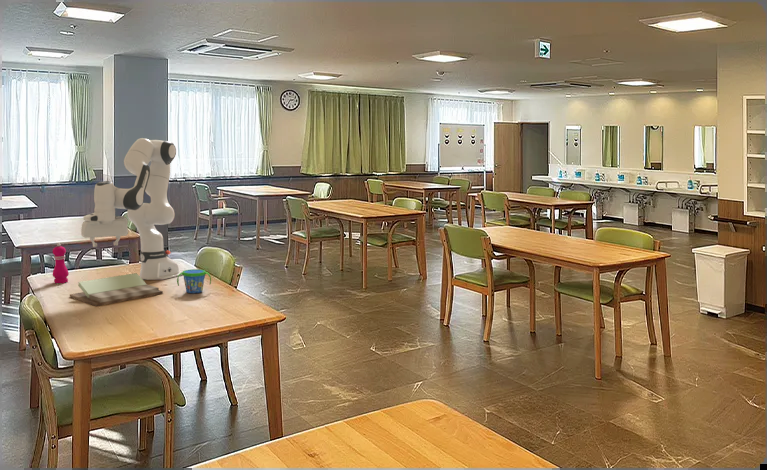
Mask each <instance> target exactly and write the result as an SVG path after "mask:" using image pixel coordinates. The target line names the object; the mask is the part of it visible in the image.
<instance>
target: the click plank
mask: <svg viewBox="0 0 767 470" xmlns="http://www.w3.org/2000/svg"><path fill="white" fill-rule="evenodd" d="M142 285H148V284H147V282H145V280H144V279H141V277H140V274H138V273H137V272H135V273H134V272H133V273H130V274H129V273H128V274H127V273H126V274H123V275H116V276H109V277H103V278H95V279H89V280H83V281H79V282H78V287H79V289H80V290H81V292H84V293H85V295H86V296H87V297H88V298H89V294H95V293H101V292H107V291H113V290H118V289H124V288H130V287H136V286H142Z"/></svg>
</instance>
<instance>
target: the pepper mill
mask: <svg viewBox="0 0 767 470" xmlns="http://www.w3.org/2000/svg"><path fill="white" fill-rule="evenodd" d="M66 253H67V250H66V247H65V246H62V244H61V243H59V242H58V243H56V246H55V247H53V248H52V254H53V255H54V256H53V258H54V262H55V263H54V268H53V270H52V277H53V278H54V279H53V283H54V282H55V283H54V284H56V283H62V284H66V283H65V282H67V283H69V278H68V276H69V270H68V268H67V266H66V263H65V259H66V255H65V254H66Z"/></svg>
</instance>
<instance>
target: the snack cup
mask: <svg viewBox="0 0 767 470" xmlns="http://www.w3.org/2000/svg"><path fill="white" fill-rule="evenodd" d="M181 272H182V273H180V274H179V275H178V276H177V279H176V282H177V283H176V284H177V286H180V283H179V280H180V279H179V277H180V275H181V274H182V275H181V276H183V281H184V282H183V283H184V287H185V291H186V293H187V294H199V293H202V292H203V291H204V284H205V283H204V282H205V279H206V278H205V277H206V275H208V277H209V285H212V284H211V283H212V276H211V274H210V273H209V272H208V271H206V270H205V269H198V268H197V269H185V270H182V271H181Z"/></svg>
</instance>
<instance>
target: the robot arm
mask: <svg viewBox="0 0 767 470" xmlns="http://www.w3.org/2000/svg"><path fill="white" fill-rule="evenodd" d="M176 155H177V148H176V146H175V144H174V142H172V141H169V140H159V139H148V138H145V137H144V138H143V137H141V138H137V139H136V141H134V142H133V144H132V145H131V146H130V147H129V149H128V151H127V153H126V154H125V156H124V159H123V164H124V167H125V170H127V171H128V173H130V174H132V175H134V176H136V177H135V178H136V179H135V182H134V185H133V187H130V188H120V187H117V186H115V185H114V182H113V181H109V180H104V181H103V180H102V181H98V182H97V183H96V184H95V186H94V191H93V192H94V193H93V201H94V208H93V209H94V212H92V213H90V214H89V213H88V214H87V215H83V222H82V224H81V228H80V229H81V230H80V232H81V234H80V235H81V236H82V237H83V238H89V240H90V242H91V243H92V247H93V248H98V243H97V242H95V241H94V240H95V238H105V237H115V238H116V240H115V241H113V242H112V243H113V246H114V247H115V246H116V247H117V246H119V242H120V240H121V237H122V236H123V237H124V236H128V234H129V228H128V220H129V221H130V222H131V223H132V224H134V227H135V228H136V229H137V232H138V234H139V238H140V239H139V240H140V254H139V255H140V257H139V258H140V271H139V276H140V277H141V279H142V280H148V281H149V280H151V281H152V280H166V279H172V278H176V277H178V275H179V274H180V273H182V272H183V271H181V270H180V269H179V268H180V267H179V265H178V263H177V262H176V261H175V260H173V259H171V258H170V257H169V256H168V255H171V253H172V252H171V251H170V250H165V249H164V237H163V234H162V233H161V232H160V231H158V229H157V228H156V226H159V225H160V226H163V225H170V224H171V223H172V222H173V221H174V219H175V217H176V216H175V215H176V214H175V210H174V208H173V207H172V206H171V205H170V203H169V200H168V189H169V182H170V178H171V177H170V176H171V163H172V162H173V161H174V159H175V157H176ZM149 163H150V165H149ZM145 193H146V195H148V196H149V197H150V202H149V203H148V202H144V199H145ZM116 209H119V210H120V209H121V210H127V212H126V213H127V214H126V215H127V217H126V216H125V215H120V216H119V215H117V216H116ZM155 225H156V226H155ZM180 276H183V275H182V274H181V275H180ZM180 276H179V277H180Z"/></svg>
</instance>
